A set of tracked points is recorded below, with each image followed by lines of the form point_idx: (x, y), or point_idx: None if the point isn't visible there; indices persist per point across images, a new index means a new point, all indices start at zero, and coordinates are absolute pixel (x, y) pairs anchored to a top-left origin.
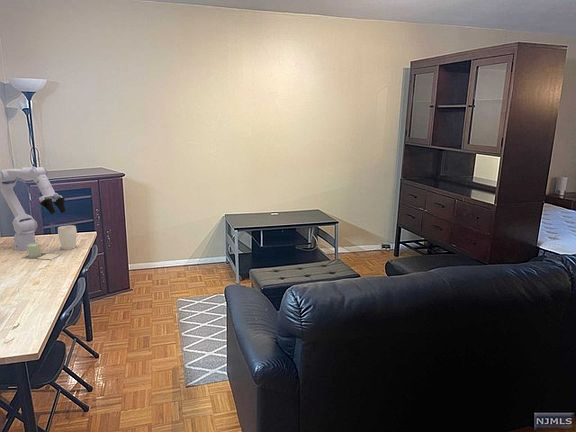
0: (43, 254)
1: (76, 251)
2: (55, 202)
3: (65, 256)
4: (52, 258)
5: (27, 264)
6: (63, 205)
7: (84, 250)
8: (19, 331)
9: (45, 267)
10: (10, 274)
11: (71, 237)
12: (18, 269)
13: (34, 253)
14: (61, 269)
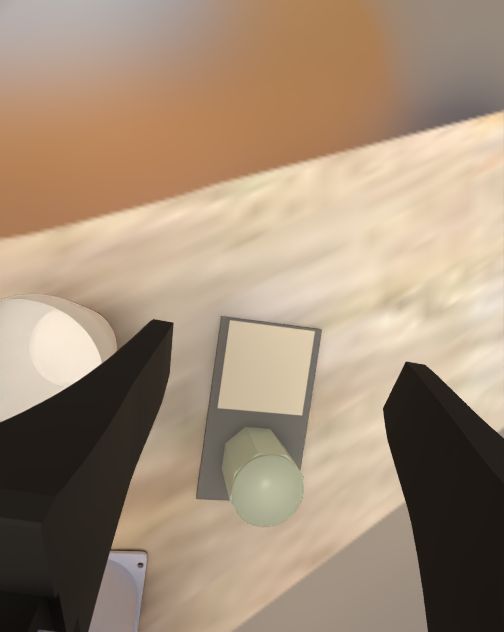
0: (227, 424)
1: (138, 267)
2: (84, 617)
3: (240, 287)
4: (303, 329)
5: (373, 415)
6: (127, 375)
7: (113, 224)
8: None
9: (415, 300)
10: (499, 405)
11: (89, 311)
12: None
13: (285, 449)
14: (443, 206)
